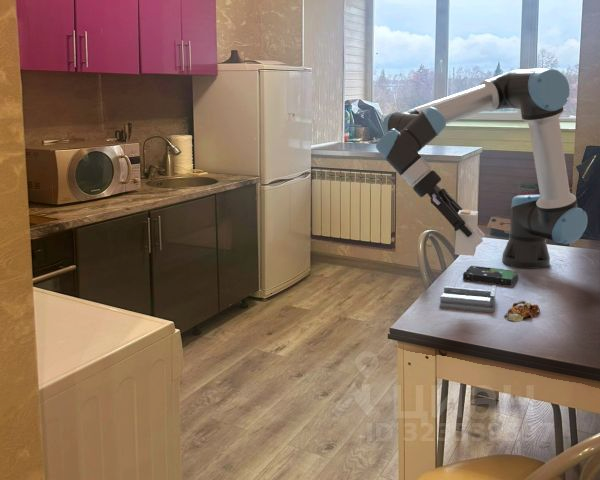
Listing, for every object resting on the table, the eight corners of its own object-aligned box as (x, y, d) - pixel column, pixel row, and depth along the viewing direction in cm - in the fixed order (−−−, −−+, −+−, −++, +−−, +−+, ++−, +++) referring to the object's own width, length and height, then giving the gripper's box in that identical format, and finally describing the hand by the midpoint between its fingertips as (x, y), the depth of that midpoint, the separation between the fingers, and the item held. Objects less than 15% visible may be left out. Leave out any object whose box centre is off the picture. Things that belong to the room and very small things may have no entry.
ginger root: (500, 320, 168) (501, 307, 167) (516, 307, 178) (517, 295, 177) (527, 326, 164) (528, 313, 163) (541, 312, 174) (543, 300, 173)
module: (475, 250, 180) (478, 209, 177) (473, 255, 174) (476, 213, 172) (457, 249, 181) (459, 208, 179) (454, 254, 176) (457, 212, 173)
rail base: (495, 298, 184) (496, 284, 183) (493, 312, 173) (494, 297, 172) (444, 293, 188) (445, 280, 187) (439, 307, 177) (440, 292, 176)
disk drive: (462, 282, 201) (512, 287, 195) (462, 273, 201) (512, 278, 194) (469, 273, 210) (517, 278, 204) (470, 265, 210) (518, 270, 203)
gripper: (417, 182, 187) (472, 242, 186) (405, 192, 170) (466, 258, 169) (436, 164, 185) (493, 225, 183) (426, 173, 167) (488, 240, 166)
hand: (480, 241), depth 176 cm, fingers closed on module, 6 cm apart
